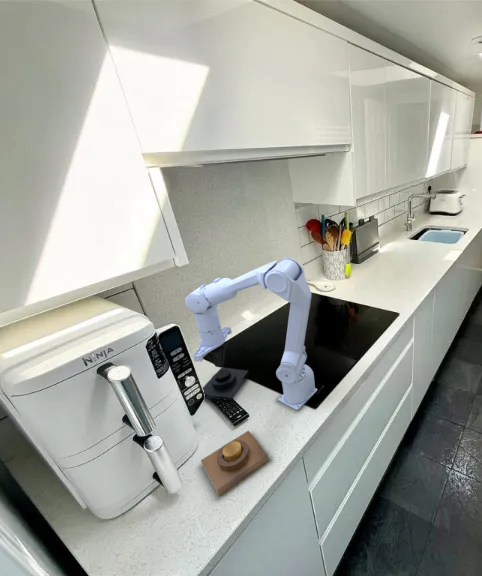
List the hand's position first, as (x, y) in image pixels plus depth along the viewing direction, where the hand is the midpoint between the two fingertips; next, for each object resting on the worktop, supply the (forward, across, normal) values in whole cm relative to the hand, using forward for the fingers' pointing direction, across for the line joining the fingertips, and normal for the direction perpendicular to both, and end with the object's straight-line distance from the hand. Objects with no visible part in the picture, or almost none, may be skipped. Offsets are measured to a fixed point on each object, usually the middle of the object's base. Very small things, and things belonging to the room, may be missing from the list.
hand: (219, 365), depth 93 cm
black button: (+7, -2, -2) cm, 7 cm away
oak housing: (+10, +22, +16) cm, 29 cm away
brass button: (+7, +22, +17) cm, 28 cm away
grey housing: (+10, -2, -2) cm, 11 cm away
